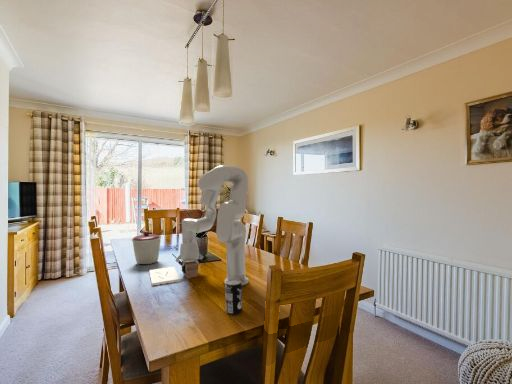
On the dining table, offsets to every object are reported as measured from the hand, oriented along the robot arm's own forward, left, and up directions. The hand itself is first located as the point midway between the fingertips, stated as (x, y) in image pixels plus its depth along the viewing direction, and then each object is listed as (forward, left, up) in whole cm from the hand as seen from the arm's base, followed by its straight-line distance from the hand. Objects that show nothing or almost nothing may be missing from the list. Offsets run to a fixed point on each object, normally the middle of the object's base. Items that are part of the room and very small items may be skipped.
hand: (190, 271), depth 155 cm
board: (+3, +14, -2) cm, 14 cm away
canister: (+38, +21, -2) cm, 43 cm away
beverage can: (-54, -7, -2) cm, 55 cm away
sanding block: (0, 0, -2) cm, 2 cm away
